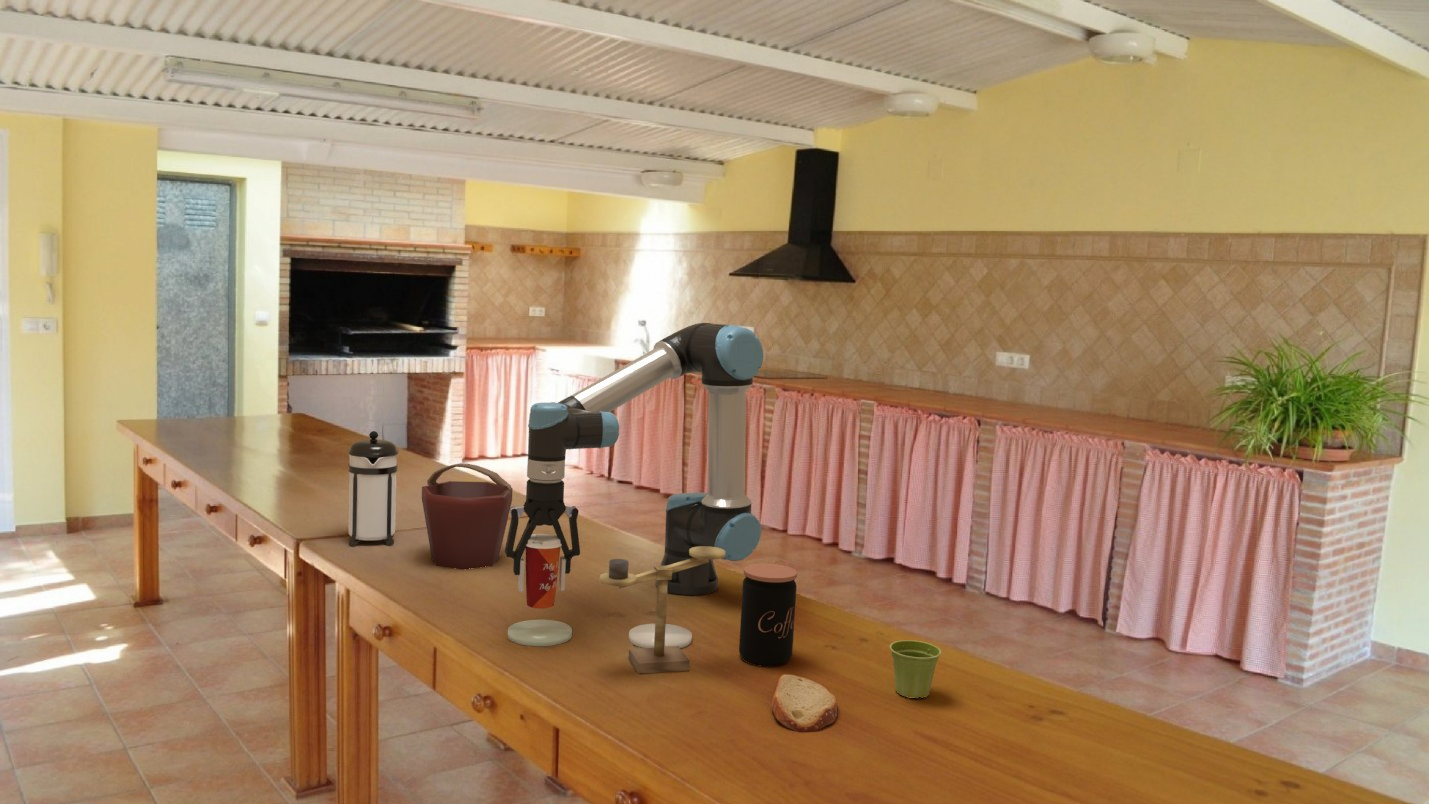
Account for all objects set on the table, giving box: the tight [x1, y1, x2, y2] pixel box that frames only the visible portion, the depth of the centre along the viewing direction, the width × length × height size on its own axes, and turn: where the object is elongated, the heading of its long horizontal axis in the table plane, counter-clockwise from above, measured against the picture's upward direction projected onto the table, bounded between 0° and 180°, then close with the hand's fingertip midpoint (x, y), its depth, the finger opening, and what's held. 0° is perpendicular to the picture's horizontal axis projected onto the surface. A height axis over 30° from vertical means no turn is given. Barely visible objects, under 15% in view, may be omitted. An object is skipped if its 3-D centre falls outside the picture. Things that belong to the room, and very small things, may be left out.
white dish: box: [628, 623, 693, 649], centre depth 216 cm, size 13×13×1 cm
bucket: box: [421, 462, 513, 571], centre depth 266 cm, size 24×22×25 cm
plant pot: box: [889, 639, 942, 699], centre depth 193 cm, size 9×9×9 cm
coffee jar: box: [738, 562, 798, 668], centre depth 207 cm, size 11×11×18 cm
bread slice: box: [770, 674, 838, 733], centre depth 185 cm, size 18×18×4 cm
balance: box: [599, 546, 726, 675], centre depth 200 cm, size 24×8×22 cm, turn 108°
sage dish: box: [507, 619, 573, 647], centre depth 214 cm, size 13×13×1 cm
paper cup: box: [525, 533, 562, 609], centre depth 213 cm, size 8×8×14 cm
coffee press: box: [347, 430, 399, 547], centre depth 281 cm, size 17×16×30 cm
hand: (541, 589), depth 213 cm, fingers closed on paper cup, 8 cm apart
